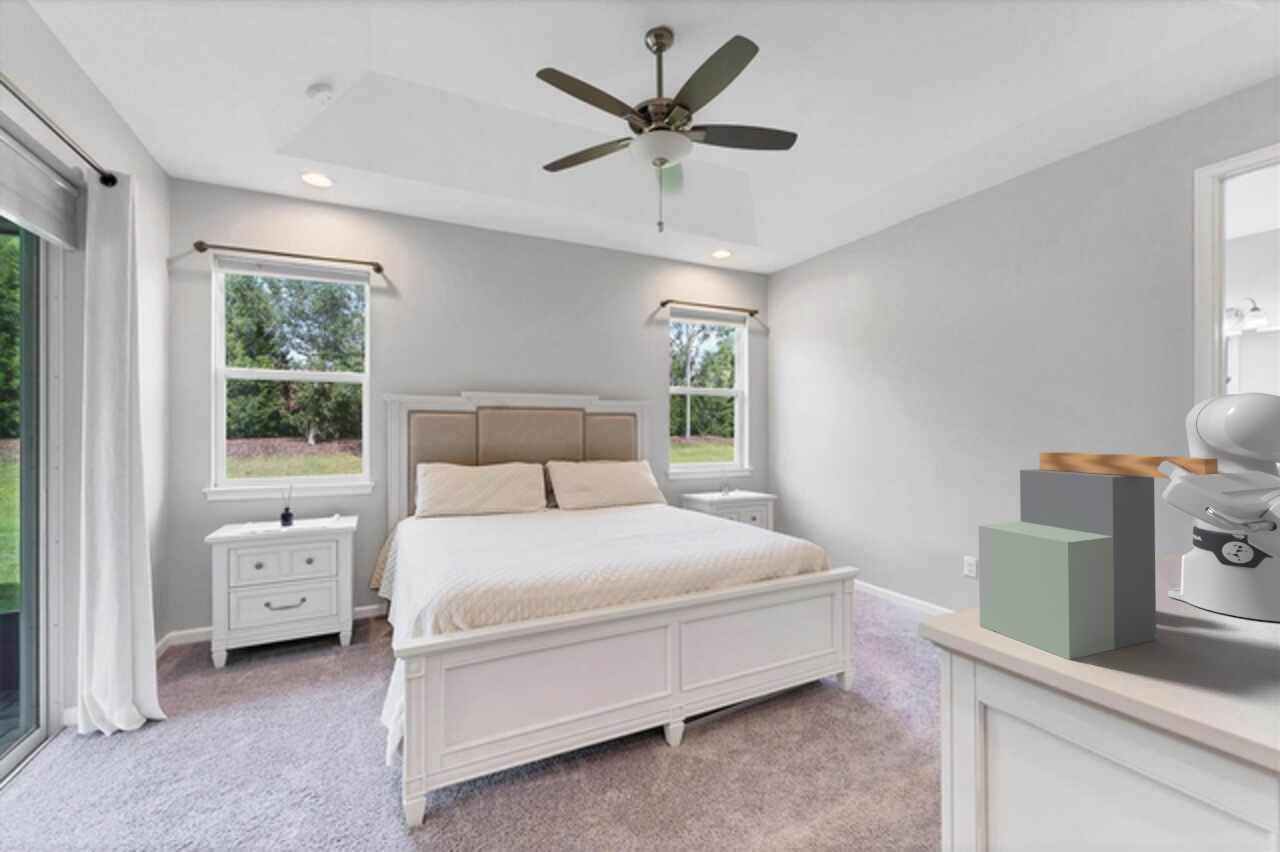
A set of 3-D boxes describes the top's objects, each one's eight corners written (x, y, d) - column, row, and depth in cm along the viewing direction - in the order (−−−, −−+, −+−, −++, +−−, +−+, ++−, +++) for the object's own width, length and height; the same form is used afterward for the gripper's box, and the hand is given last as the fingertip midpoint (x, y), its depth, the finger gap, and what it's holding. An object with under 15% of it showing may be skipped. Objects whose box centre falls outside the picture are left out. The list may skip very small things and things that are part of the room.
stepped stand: (1156, 639, 85) (1154, 474, 85) (1069, 659, 78) (1067, 480, 78) (1060, 611, 98) (1059, 467, 98) (979, 626, 91) (977, 472, 91)
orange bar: (1217, 479, 75) (1217, 458, 75) (1205, 480, 74) (1204, 459, 74) (1051, 468, 96) (1051, 451, 96) (1039, 469, 95) (1039, 452, 95)
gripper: (1228, 552, 65) (1113, 485, 76) (1318, 538, 72) (1199, 478, 83) (1265, 511, 62) (1139, 447, 73) (1355, 500, 69) (1227, 444, 80)
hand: (1172, 464), depth 78 cm, fingers closed on orange bar, 3 cm apart
